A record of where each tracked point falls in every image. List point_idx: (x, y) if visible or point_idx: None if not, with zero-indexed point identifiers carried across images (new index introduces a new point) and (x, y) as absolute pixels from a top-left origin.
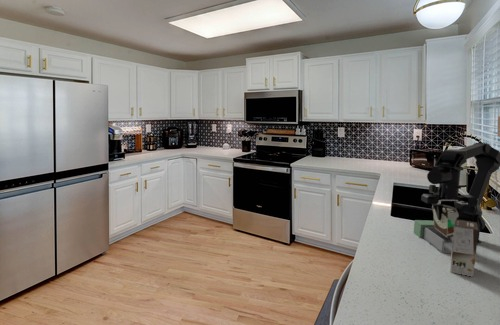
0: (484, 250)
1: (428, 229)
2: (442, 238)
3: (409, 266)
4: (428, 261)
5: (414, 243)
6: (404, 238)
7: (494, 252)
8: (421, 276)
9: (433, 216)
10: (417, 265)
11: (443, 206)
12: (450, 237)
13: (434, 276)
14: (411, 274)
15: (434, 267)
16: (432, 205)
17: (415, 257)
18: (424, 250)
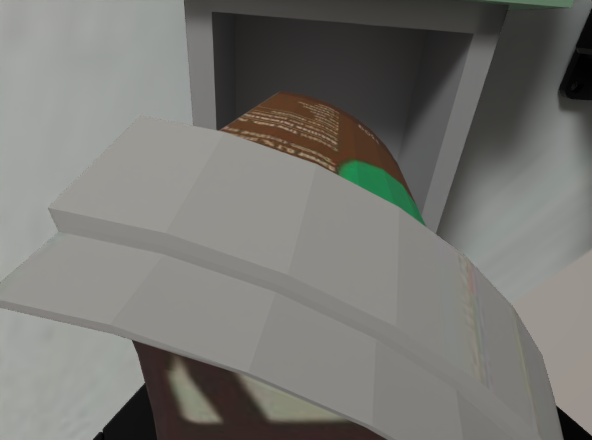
0: (537, 236)
1: (207, 88)
2: (392, 38)
3: (12, 386)
4: (111, 352)
5: (96, 132)
6: (25, 8)
7: (569, 260)
8: (48, 434)
9: (232, 125)
10: (49, 379)
11: (466, 430)
12: (419, 125)
13: (95, 433)
14: (13, 426)
15: (119, 390)
16: (23, 273)
17: (55, 321)
18: None
